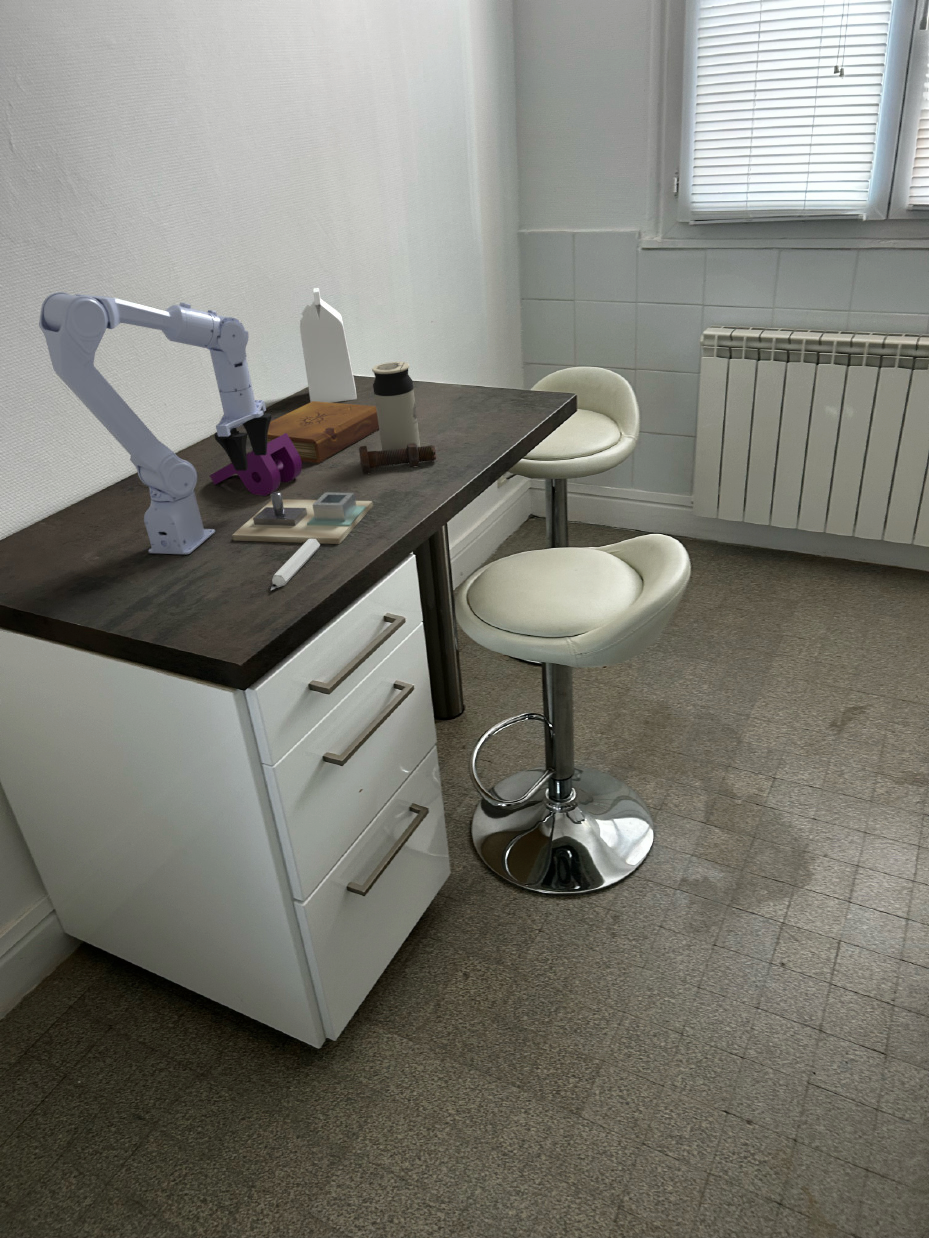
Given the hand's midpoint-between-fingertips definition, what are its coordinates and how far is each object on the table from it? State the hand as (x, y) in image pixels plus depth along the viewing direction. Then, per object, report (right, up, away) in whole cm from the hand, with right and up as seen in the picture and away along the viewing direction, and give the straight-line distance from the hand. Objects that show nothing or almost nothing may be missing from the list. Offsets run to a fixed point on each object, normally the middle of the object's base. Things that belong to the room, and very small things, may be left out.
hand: (251, 462), depth 165 cm
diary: (+6, +10, +38) cm, 40 cm away
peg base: (+6, -12, -2) cm, 13 cm away
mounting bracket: (-4, -2, +18) cm, 18 cm away
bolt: (+25, +2, +19) cm, 32 cm away
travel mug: (+25, +6, +26) cm, 37 cm away
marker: (+11, -21, -19) cm, 30 cm away
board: (+10, -11, -3) cm, 15 cm away
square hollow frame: (+16, -10, -4) cm, 19 cm away
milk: (+5, +29, +70) cm, 75 cm away
